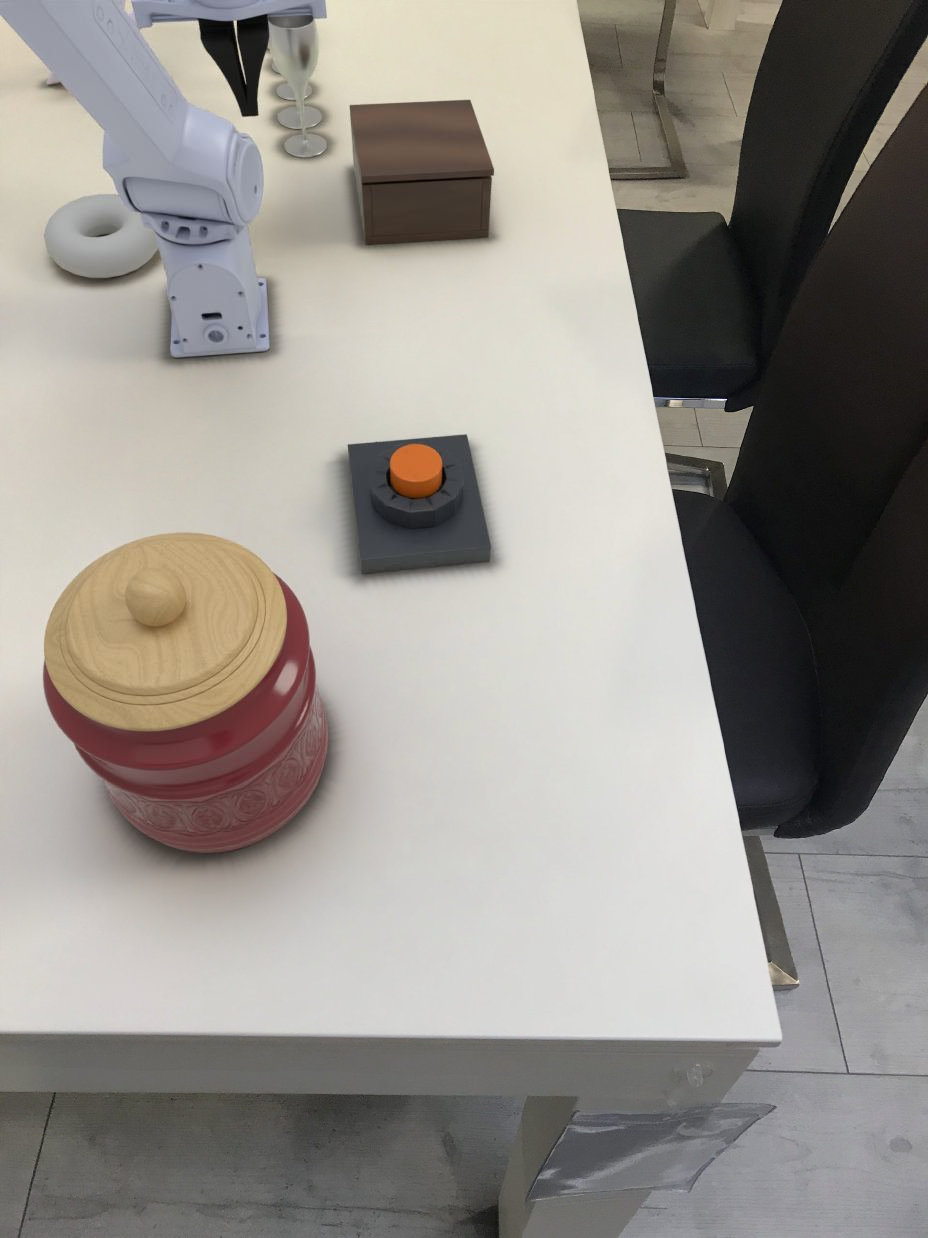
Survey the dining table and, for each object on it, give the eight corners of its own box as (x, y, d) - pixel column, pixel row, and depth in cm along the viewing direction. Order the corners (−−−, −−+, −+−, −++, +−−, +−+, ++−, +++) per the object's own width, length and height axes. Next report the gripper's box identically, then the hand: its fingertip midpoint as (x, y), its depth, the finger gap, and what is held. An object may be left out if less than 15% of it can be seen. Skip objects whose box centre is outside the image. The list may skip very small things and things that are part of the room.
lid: (493, 175, 80) (494, 168, 80) (361, 182, 79) (361, 175, 78) (470, 105, 88) (470, 98, 88) (349, 111, 87) (349, 104, 86)
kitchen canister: (125, 669, 58) (23, 479, 44) (329, 656, 59) (296, 466, 45) (98, 868, 51) (-34, 719, 36) (332, 850, 52) (293, 697, 37)
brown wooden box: (488, 237, 86) (491, 177, 81) (365, 244, 85) (361, 185, 80) (468, 164, 93) (470, 106, 88) (354, 170, 92) (349, 111, 87)
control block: (490, 562, 64) (492, 530, 61) (361, 575, 63) (358, 543, 60) (466, 449, 70) (467, 415, 67) (349, 460, 69) (345, 426, 66)
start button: (445, 496, 63) (445, 479, 62) (393, 501, 63) (392, 483, 61) (438, 458, 65) (438, 441, 64) (388, 463, 65) (387, 445, 63)
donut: (147, 292, 80) (178, 224, 85) (136, 257, 77) (169, 189, 83) (35, 282, 80) (73, 215, 86) (20, 247, 77) (60, 180, 83)
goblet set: (336, 155, 93) (323, 10, 82) (279, 160, 92) (259, 14, 81) (306, 29, 108) (292, -107, 97) (257, 32, 108) (237, -105, 97)
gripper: (313, -107, 69) (331, 78, 80) (116, -99, 67) (163, 88, 79) (319, -63, 65) (338, 124, 77) (111, -54, 64) (162, 135, 75)
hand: (249, 109), depth 78 cm, fingers closed
